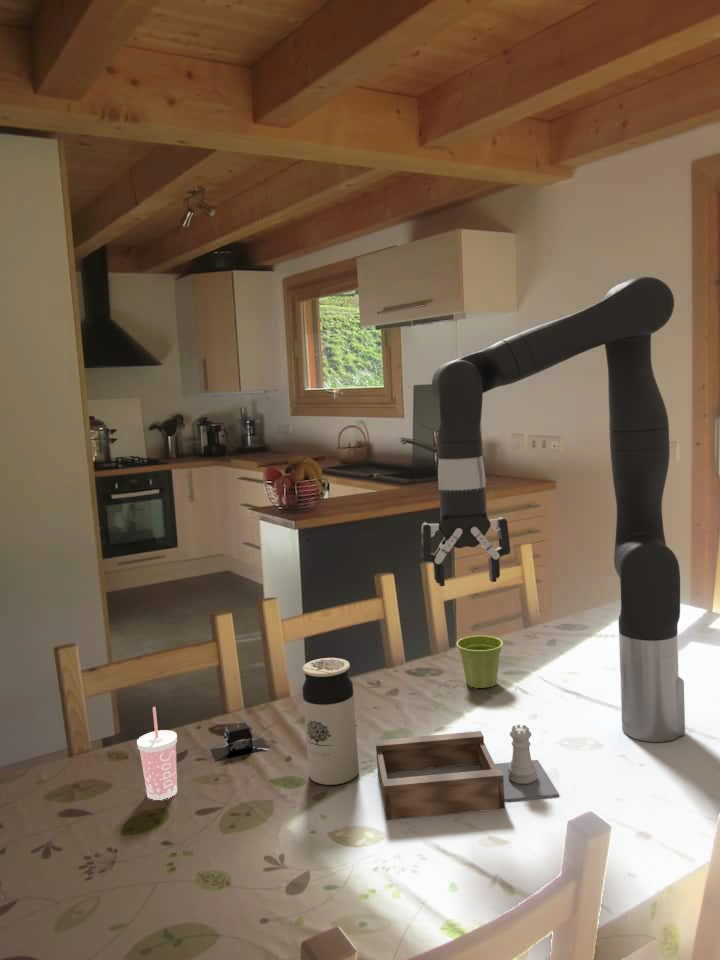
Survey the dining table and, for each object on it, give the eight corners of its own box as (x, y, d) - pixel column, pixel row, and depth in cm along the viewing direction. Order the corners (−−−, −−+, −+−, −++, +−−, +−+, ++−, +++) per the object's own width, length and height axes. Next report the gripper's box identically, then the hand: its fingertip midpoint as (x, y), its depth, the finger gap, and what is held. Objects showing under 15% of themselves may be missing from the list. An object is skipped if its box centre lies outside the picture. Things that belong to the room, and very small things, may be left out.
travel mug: (335, 758, 130) (327, 653, 129) (369, 772, 125) (361, 663, 123) (299, 776, 125) (290, 667, 123) (332, 792, 119) (324, 678, 117)
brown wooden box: (482, 760, 126) (480, 731, 125) (505, 808, 111) (503, 775, 111) (377, 770, 125) (375, 740, 125) (386, 820, 110) (383, 786, 110)
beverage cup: (146, 807, 118) (138, 718, 117) (138, 790, 124) (129, 705, 122) (186, 795, 121) (178, 708, 120) (176, 779, 126) (168, 696, 125)
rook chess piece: (538, 786, 116) (535, 734, 115) (507, 785, 117) (505, 734, 116) (537, 771, 120) (534, 722, 120) (507, 771, 121) (505, 721, 121)
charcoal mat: (537, 761, 124) (537, 759, 124) (559, 796, 113) (559, 794, 113) (488, 766, 124) (488, 764, 124) (505, 801, 113) (504, 799, 113)
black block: (269, 736, 142) (267, 712, 141) (279, 752, 135) (277, 727, 135) (200, 752, 138) (198, 727, 137) (207, 769, 131) (205, 743, 130)
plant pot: (512, 679, 161) (510, 638, 160) (494, 695, 153) (492, 652, 152) (470, 673, 166) (468, 633, 165) (450, 688, 158) (448, 647, 157)
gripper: (499, 479, 130) (504, 574, 132) (415, 485, 130) (421, 581, 131) (511, 484, 123) (515, 585, 125) (421, 491, 122) (427, 592, 124)
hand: (467, 583), depth 128 cm, fingers open, 8 cm apart
